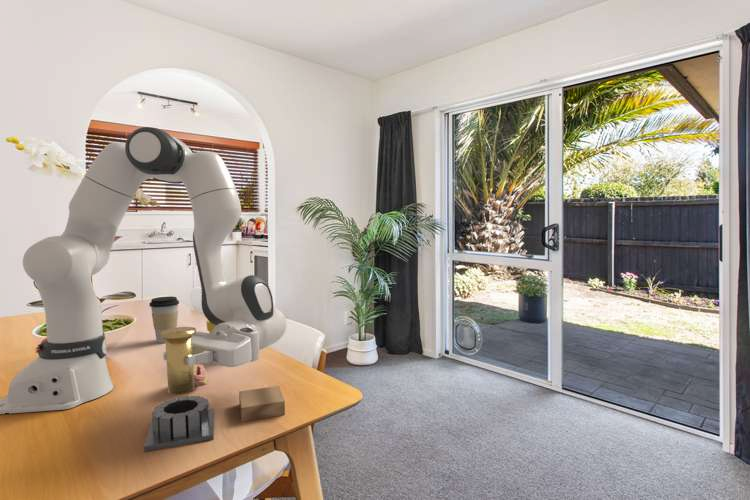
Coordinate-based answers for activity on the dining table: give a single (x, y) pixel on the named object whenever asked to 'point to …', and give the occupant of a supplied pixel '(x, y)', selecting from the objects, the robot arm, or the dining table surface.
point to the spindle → (179, 359)
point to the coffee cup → (164, 314)
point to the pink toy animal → (200, 375)
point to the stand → (261, 403)
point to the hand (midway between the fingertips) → (176, 359)
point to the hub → (180, 423)
